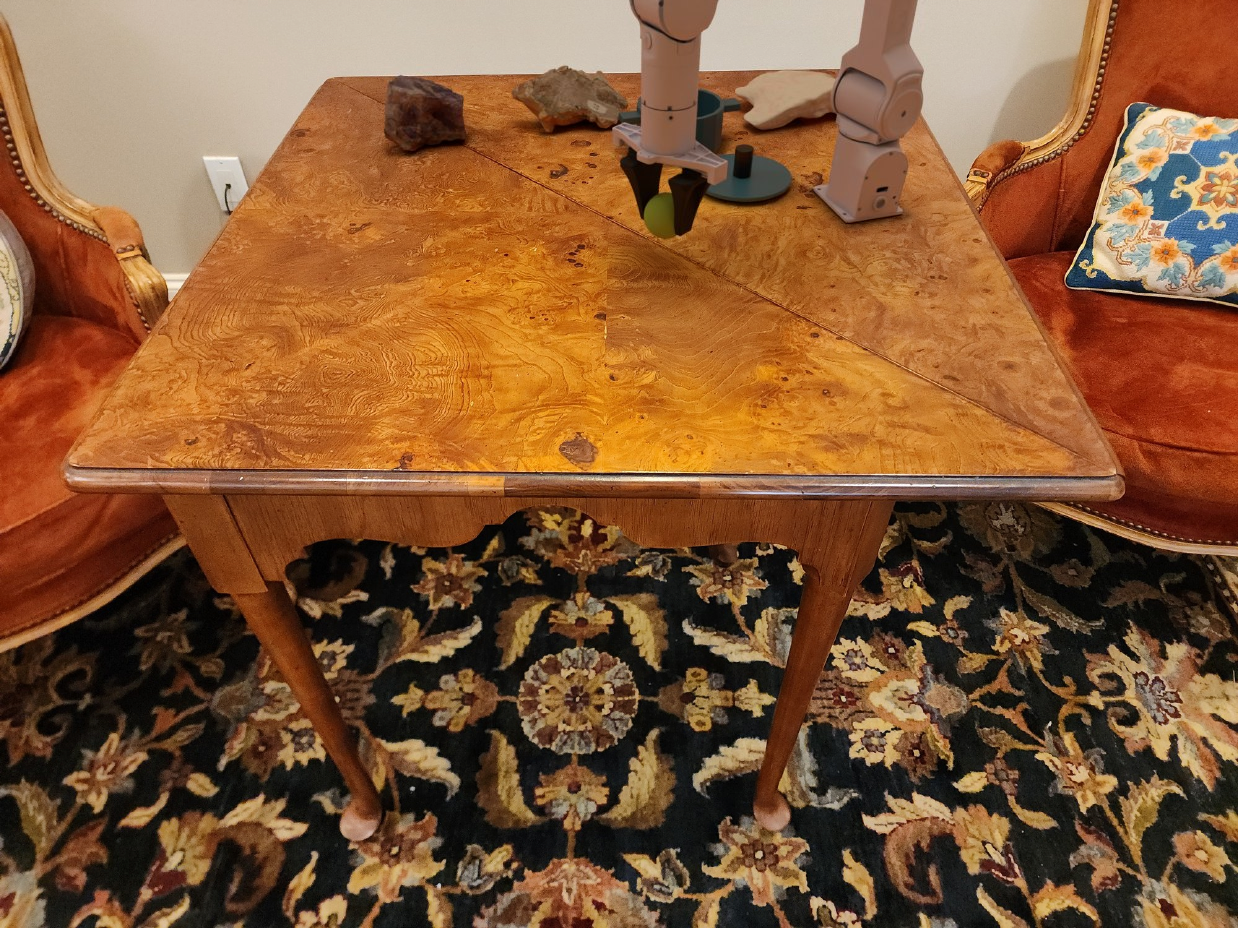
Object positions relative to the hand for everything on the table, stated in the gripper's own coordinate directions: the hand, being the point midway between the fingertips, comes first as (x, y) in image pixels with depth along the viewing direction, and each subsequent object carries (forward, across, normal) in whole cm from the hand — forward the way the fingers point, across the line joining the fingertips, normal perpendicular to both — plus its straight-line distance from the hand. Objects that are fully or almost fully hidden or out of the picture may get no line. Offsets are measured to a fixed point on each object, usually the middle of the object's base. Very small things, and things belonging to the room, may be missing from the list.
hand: (665, 224), depth 86 cm
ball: (-1, 0, 0) cm, 1 cm away
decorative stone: (+5, -14, +47) cm, 50 cm away
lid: (+4, -5, +21) cm, 22 cm away
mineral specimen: (+4, -37, +20) cm, 42 cm away
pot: (+4, -19, +25) cm, 32 cm away
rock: (+4, -48, +1) cm, 48 cm away
